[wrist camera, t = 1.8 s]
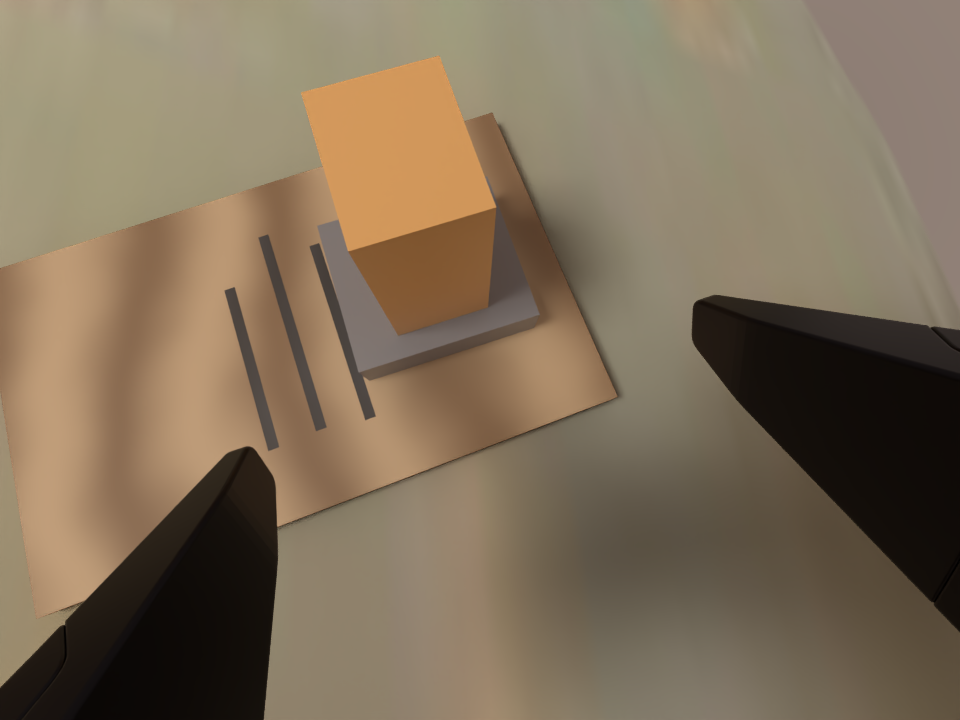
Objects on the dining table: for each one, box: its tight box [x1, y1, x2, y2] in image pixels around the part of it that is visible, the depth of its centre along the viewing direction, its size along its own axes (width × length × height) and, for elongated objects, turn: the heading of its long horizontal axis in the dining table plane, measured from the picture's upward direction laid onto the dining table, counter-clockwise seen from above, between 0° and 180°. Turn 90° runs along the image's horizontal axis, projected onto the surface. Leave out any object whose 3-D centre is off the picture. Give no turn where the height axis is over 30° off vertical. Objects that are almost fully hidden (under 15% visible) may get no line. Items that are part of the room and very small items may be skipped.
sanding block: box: [301, 56, 540, 381], centre depth 17 cm, size 8×7×10 cm
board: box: [0, 113, 618, 619], centre depth 22 cm, size 26×16×1 cm, turn 111°
